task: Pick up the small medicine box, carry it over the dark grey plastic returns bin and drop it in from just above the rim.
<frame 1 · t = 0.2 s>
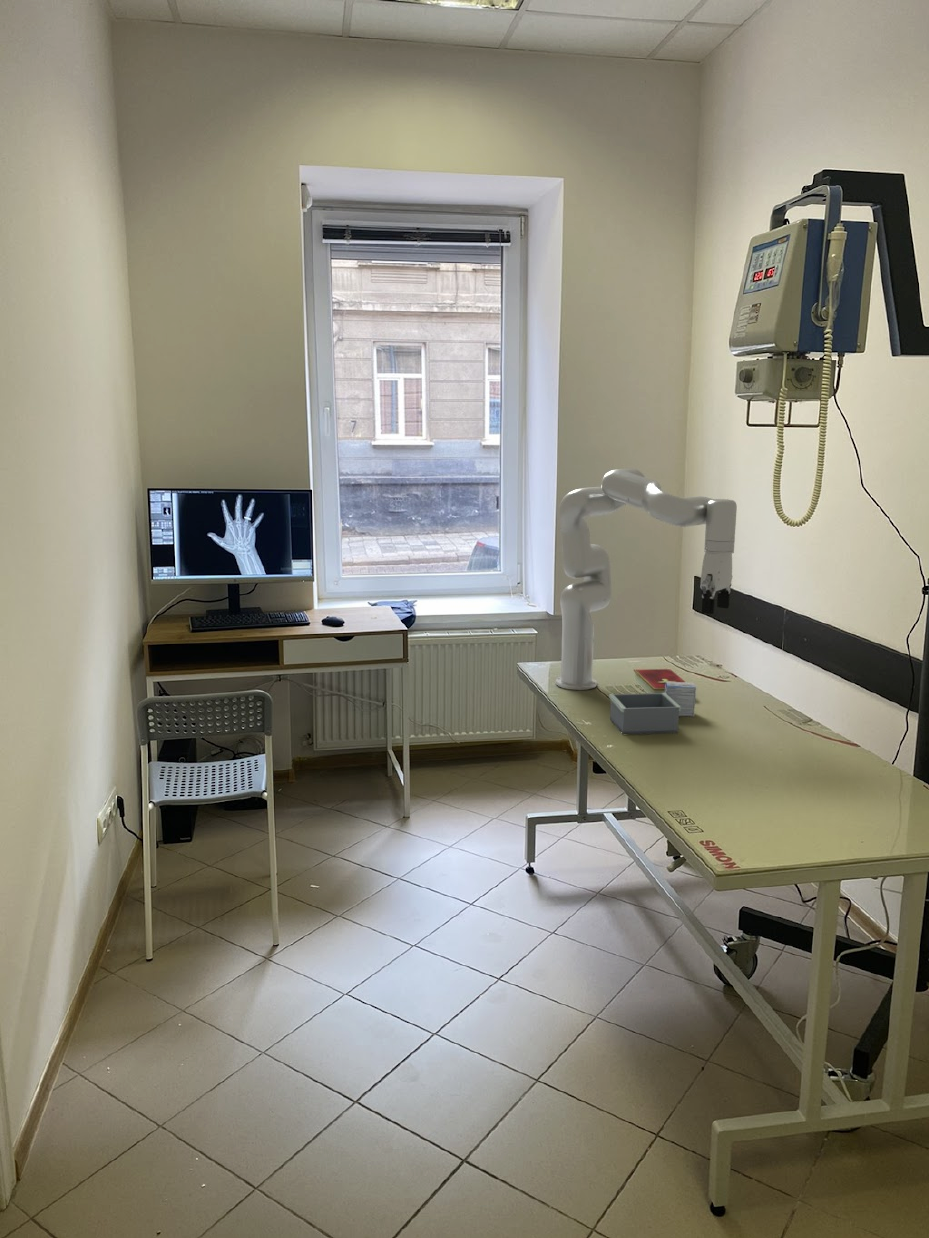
hand: (715, 610, 243), 30 cm above the table, tool pointing down, fingers open, 9 cm apart
returns bin: (642, 725, 243), on the table
medicine box: (678, 714, 253), on the table
hardcover book: (662, 691, 276), on the table
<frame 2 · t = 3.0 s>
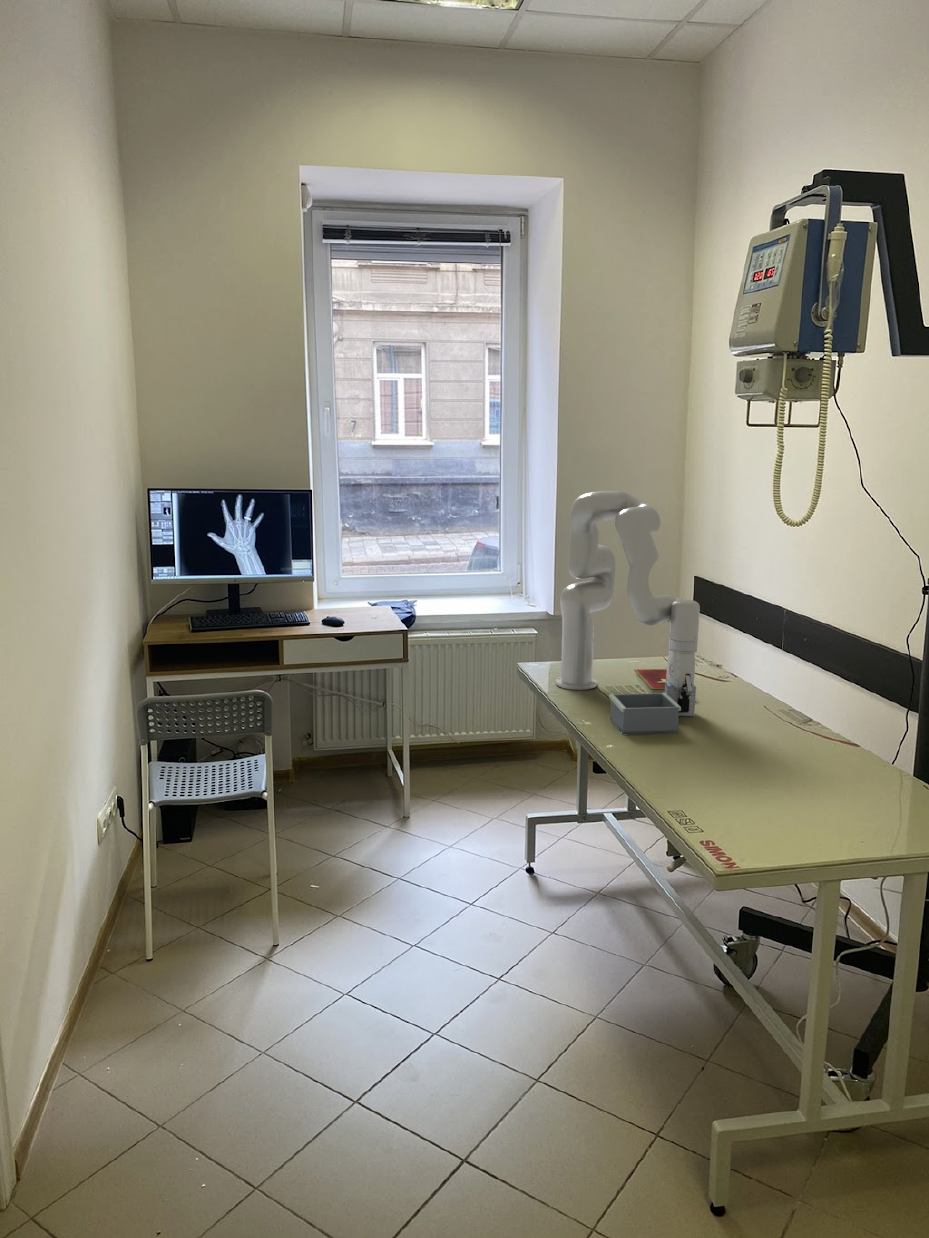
hand: (679, 708, 253), 2 cm above the table, tool pointing down, fingers closed on medicine box, 5 cm apart
medicine box: (678, 714, 253), on the table, touching gripper
everything else where it was.
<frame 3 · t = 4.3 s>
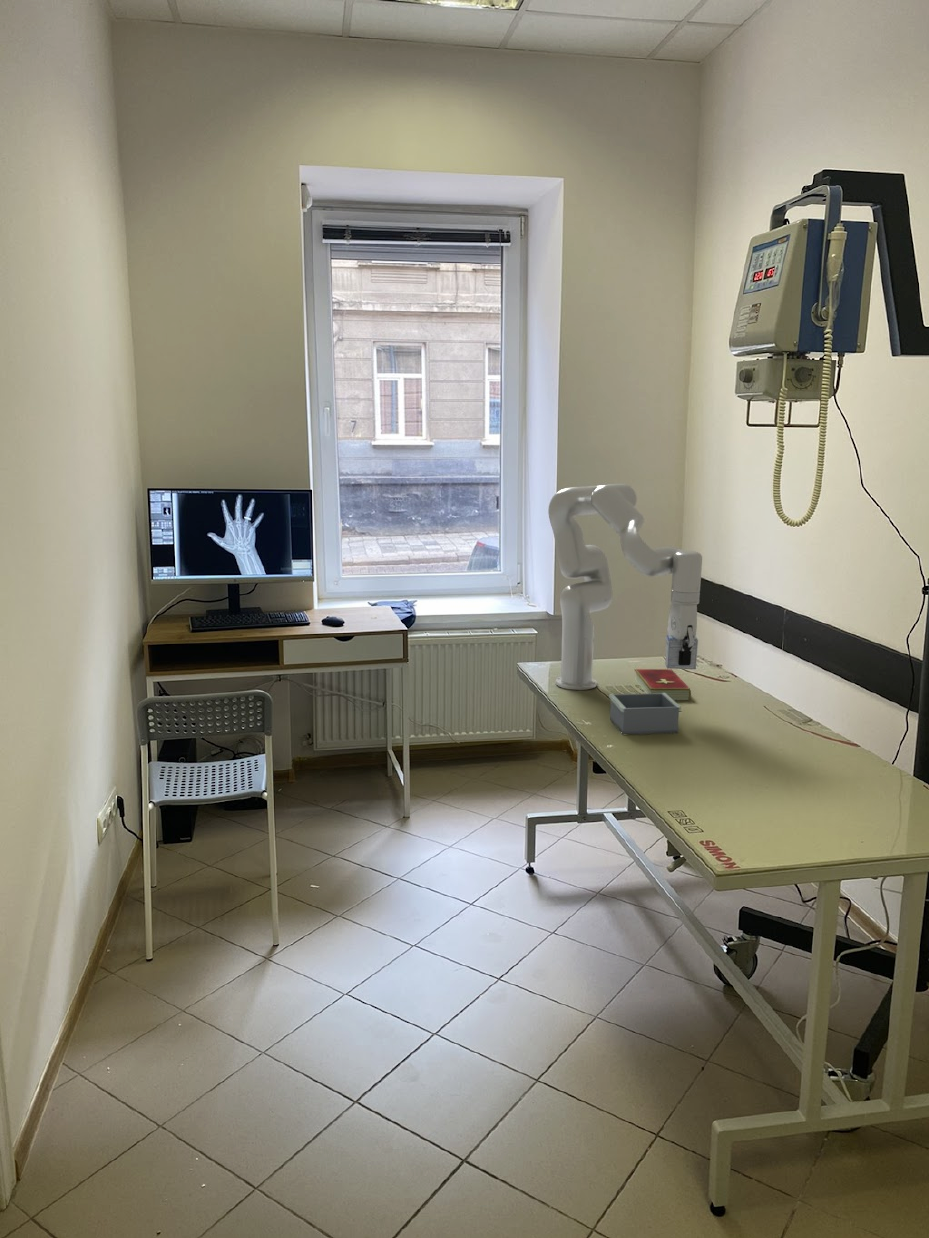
hand: (680, 661, 250), 15 cm above the table, tool pointing down, fingers closed on medicine box, 5 cm apart
medicine box: (680, 668, 250), point 13 cm above the table, touching gripper
everything else where it was.
when the fingers open (10 cm above the table, at t = 6.0 s): medicine box drops 7 cm, resting on returns bin.
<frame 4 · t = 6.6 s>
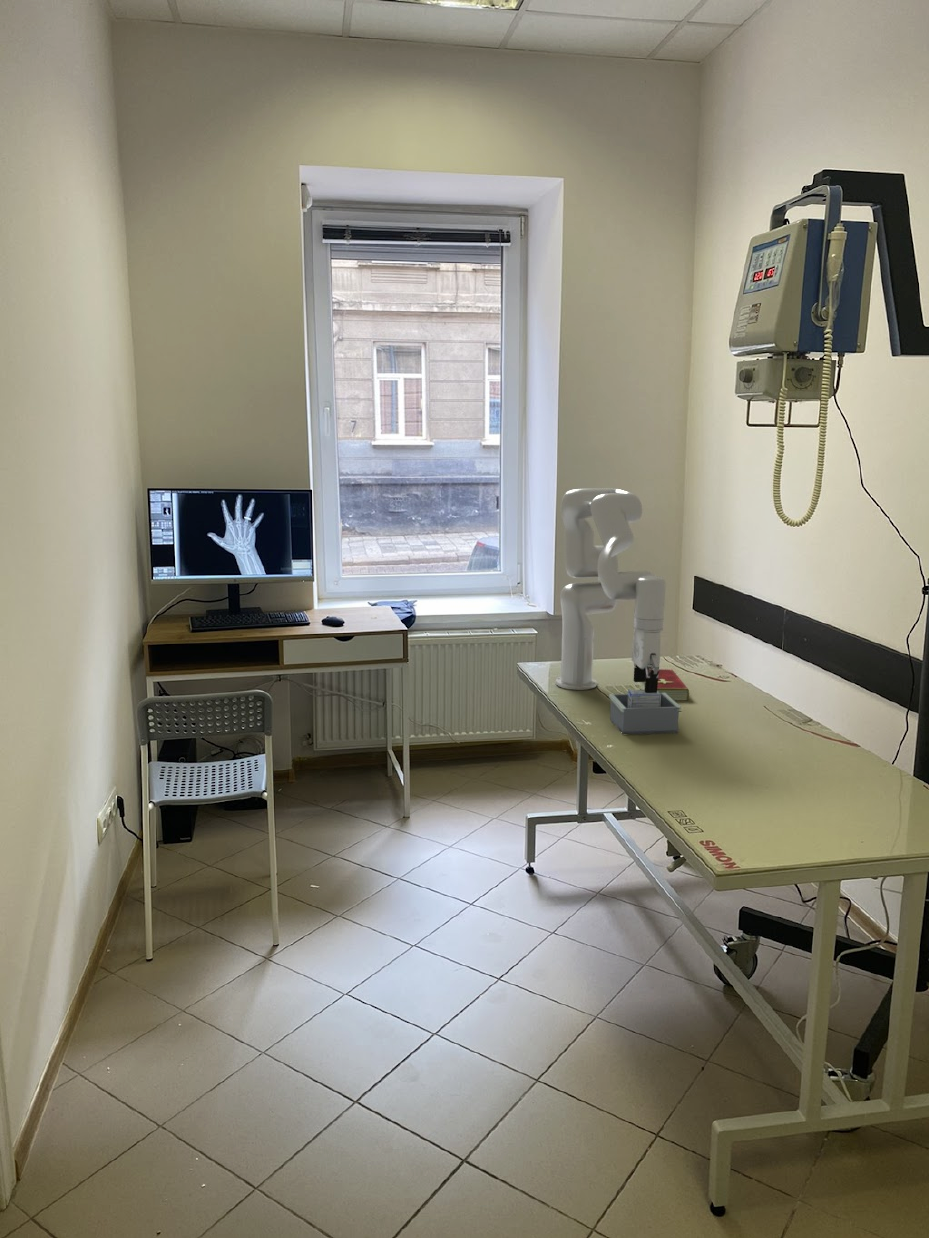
hand: (645, 687, 241), 11 cm above the table, tool pointing down, fingers open, 9 cm apart
medicine box: (642, 723, 243), point 1 cm above the table, touching returns bin
everything else where it was.
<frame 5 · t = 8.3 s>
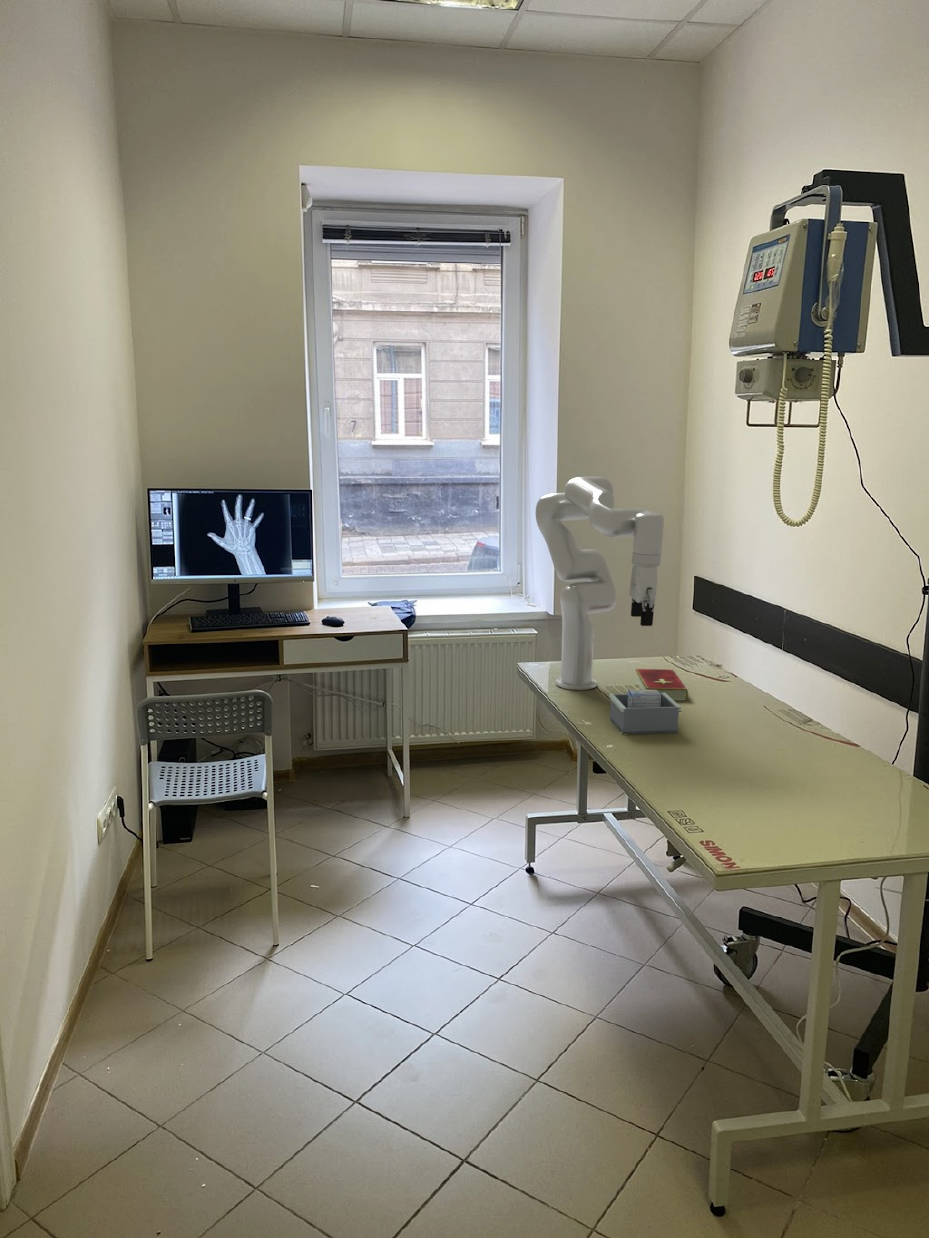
hand: (641, 620, 249), 26 cm above the table, tool pointing down, fingers open, 9 cm apart
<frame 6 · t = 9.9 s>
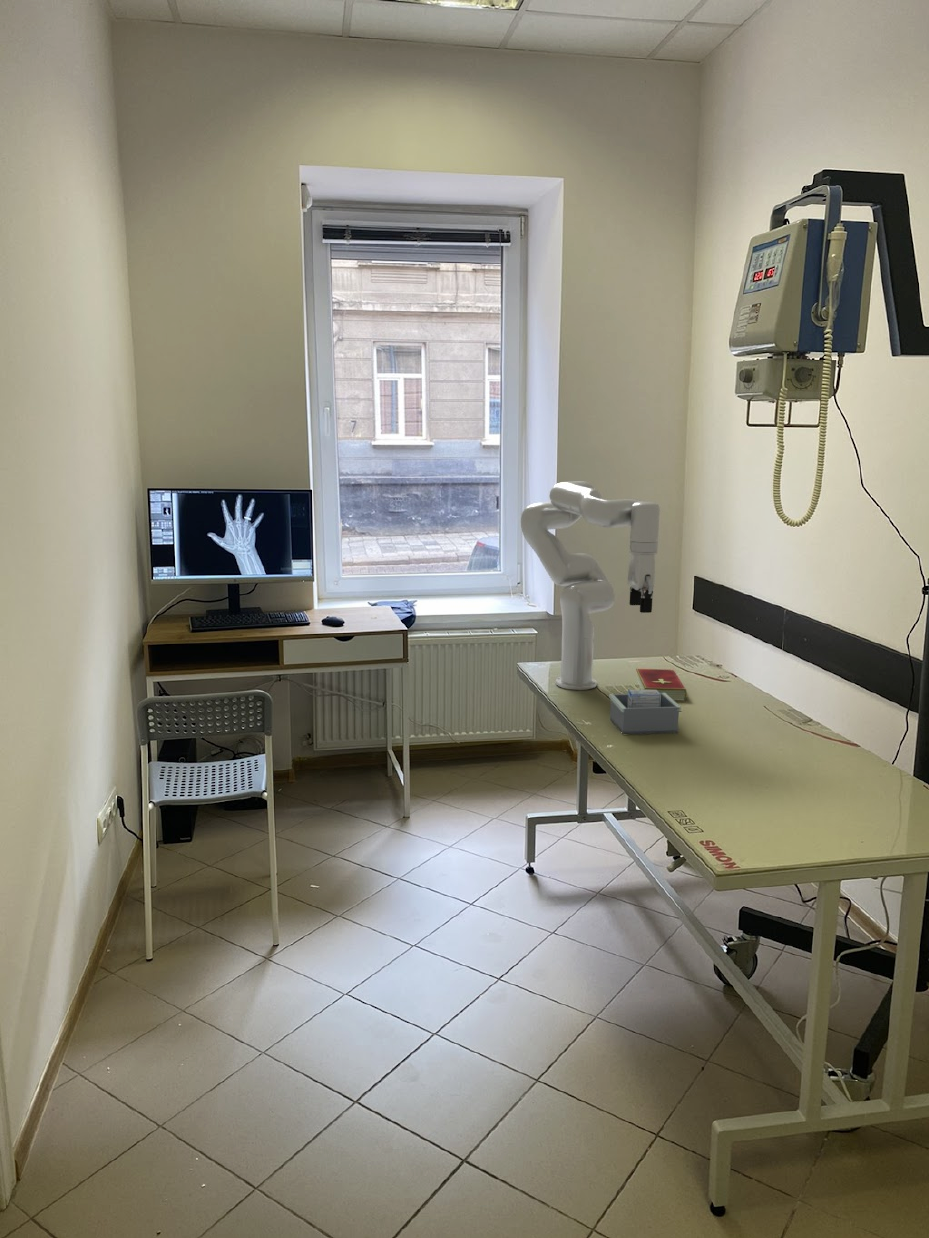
hand: (640, 608, 254), 28 cm above the table, tool pointing down, fingers open, 9 cm apart
at the end: medicine box inside the target area on the returns bin (0.1 cm from its centre), point 0.6 cm above the returns bin's base; the gripper is holding nothing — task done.
